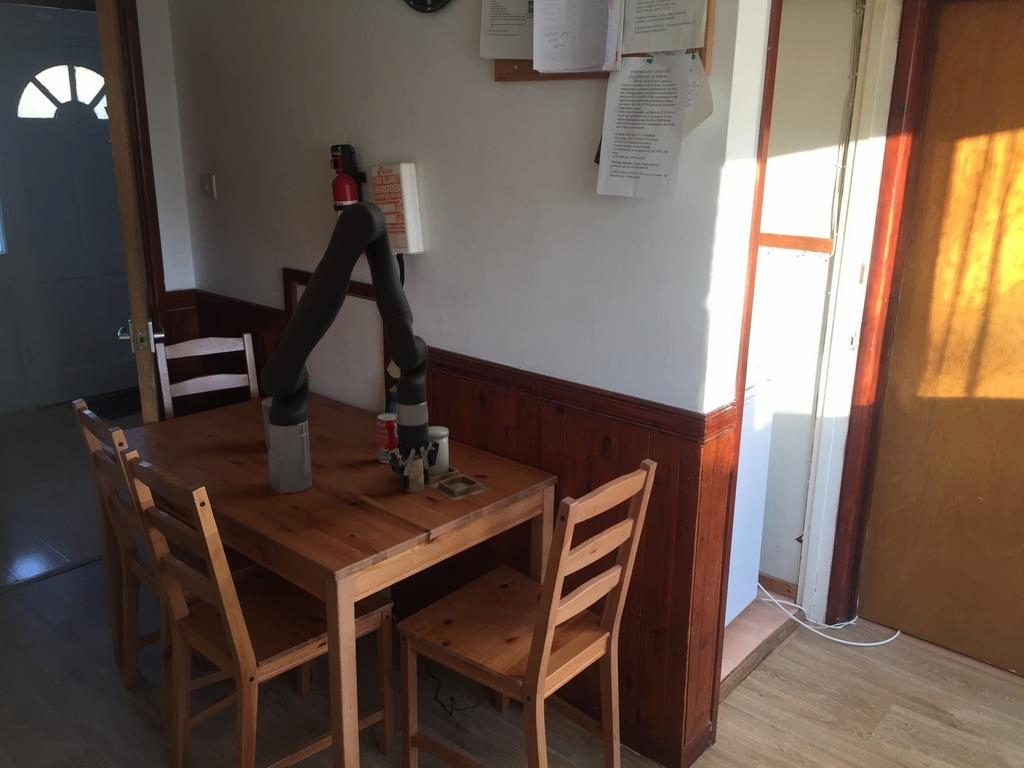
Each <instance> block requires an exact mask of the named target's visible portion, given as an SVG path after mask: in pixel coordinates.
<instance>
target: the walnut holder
mask: <svg viewBox="0 0 1024 768" xmlns="http://www.w3.org/2000/svg"><path fill="white" fill-rule="evenodd" d="M460 472H461V471H460V470H459V469H458V468H455V467H453V466H451V465H449V473H446V474H442V475H439V476H435V477H429V476H428V482H427V484H425V485H424V486H427V487H428V488H430V489H432V490H434V491H436V493H439V494H441V495H442V496H444V497H446V498H448V499H449V500H451V501H453V502H455V501H460V500H461V499H465V498H466V499H467V498H469V497H472V496H475V495H480V494H483V493H486V492H489V491H490V492H491V491H492V489H490V488H488V487H487V486H485V485H483V484H482V482H479V481H477V480H475V479H474V478H472V477H470V476H467V475H466V474H461V473H460Z"/></svg>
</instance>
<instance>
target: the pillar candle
mask: <svg viewBox="0 0 1024 768" xmlns="http://www.w3.org/2000/svg"><path fill="white" fill-rule="evenodd" d="M272 399H273V397H268V398H265V399H263V400H262V401H261V402H260V403H261V405H262V406H261V407H262V415H263V416H262V418H263V419H262V420H263V428H264V436H265V438H264V439H265V447H266V450H267V451H270V450H271V443H270V431H269V419H268V412H269V409H270V407H271V404H272Z"/></svg>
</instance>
